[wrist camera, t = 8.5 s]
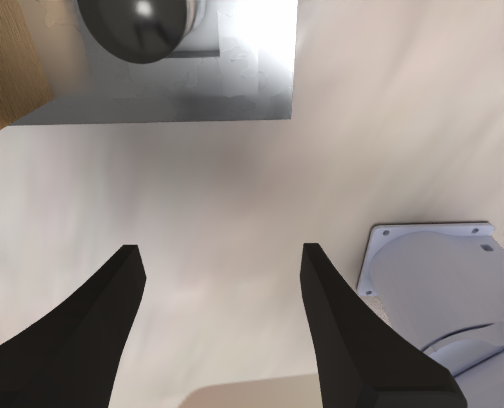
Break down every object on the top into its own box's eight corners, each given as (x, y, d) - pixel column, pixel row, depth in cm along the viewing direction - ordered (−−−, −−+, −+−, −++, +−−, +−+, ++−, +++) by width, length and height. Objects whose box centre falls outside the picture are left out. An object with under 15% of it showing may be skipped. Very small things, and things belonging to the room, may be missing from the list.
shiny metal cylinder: (202, -44, 14) (175, -65, 9) (211, 35, 16) (192, 61, 10) (132, -40, 14) (58, -59, 9) (148, 38, 16) (96, 66, 10)
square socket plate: (302, -176, 13) (340, -283, 8) (288, 112, 20) (303, 156, 15) (-187, -168, 13) (-472, -270, 8) (-32, 119, 20) (-130, 166, 15)
